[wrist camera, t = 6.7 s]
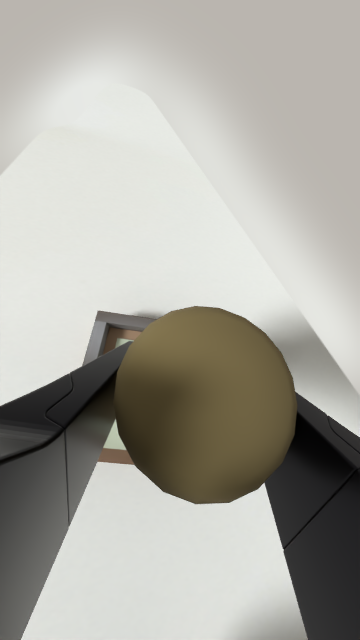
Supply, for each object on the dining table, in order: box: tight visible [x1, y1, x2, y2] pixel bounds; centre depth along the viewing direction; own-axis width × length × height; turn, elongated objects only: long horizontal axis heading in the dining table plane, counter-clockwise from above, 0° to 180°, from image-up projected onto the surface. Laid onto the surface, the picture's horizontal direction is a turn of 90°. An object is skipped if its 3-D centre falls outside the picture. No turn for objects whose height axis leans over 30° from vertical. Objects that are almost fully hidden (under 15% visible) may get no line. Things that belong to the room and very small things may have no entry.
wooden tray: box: [82, 311, 157, 465], centre depth 18 cm, size 12×13×4 cm
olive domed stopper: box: [113, 306, 297, 504], centre depth 10 cm, size 6×6×11 cm
